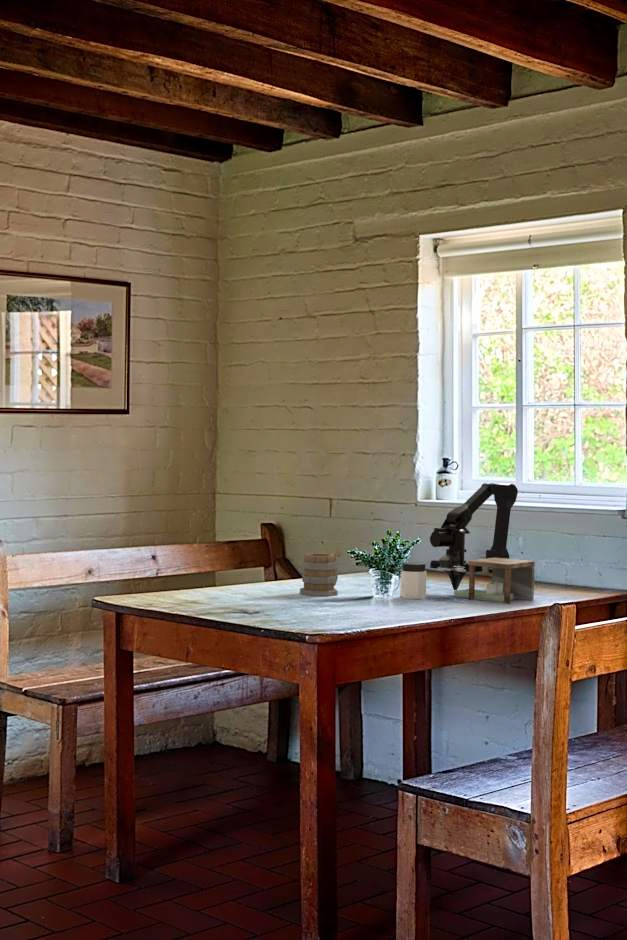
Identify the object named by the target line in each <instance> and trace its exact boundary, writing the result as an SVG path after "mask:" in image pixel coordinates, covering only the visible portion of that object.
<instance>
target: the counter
mask: <svg viewBox="0 0 627 940" xmlns="http://www.w3.org/2000/svg"><path fill="white" fill-rule="evenodd" d="M535 564H536V561H535V560H526V559H515V558H509V559H506V558H487V559H485V558H479V559H471V560H468V565H469V572H468V573H469V576H468V578H469V579H468V589H469V598H468V600H469V601H474V600H475V599H474V595H475V589H476V587H475V586H476V572H475V566H482V568H484V567H486V568H488V567H492V575H491V583H494V582H503V592H504V601H503V604H504V605H511V600H510V593H513V599H520V600H529V601H533V600H534V598H535V597H534V596H535V595H534V594H535V566H536V565H535Z"/></svg>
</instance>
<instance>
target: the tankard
mask: <svg viewBox="0 0 627 940" xmlns="http://www.w3.org/2000/svg"><path fill="white" fill-rule="evenodd" d="M342 555H343V552H342V551H340V550H339V549H335V550H334V551H333V552H331V553H320V552H318V553H317V552H315V553H313V552H311V553H305V554H304V560H302V568H303V574H302V575H301V576H302V577H301V581H302V583H303V587H301V588H299V594H301V595H302V596H306V597H318V598H319V597H320V598H321V597H325V598H326V597H335V596H338V591H339V590H337V589H336V588H335V586H336V585H337V581H338V578H339V577H338V575H339V573H338V567H337V557H339V558H340V557H342Z"/></svg>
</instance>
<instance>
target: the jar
mask: <svg viewBox="0 0 627 940" xmlns="http://www.w3.org/2000/svg"><path fill="white" fill-rule="evenodd" d="M401 570H402V572H401V571H400V587H399V589H400V598H402V599H408V600H422V599H426V597H427V571H426V563H424V562H418V561H417V562H415V561H406V562H405V563H404V562H402V565H401Z"/></svg>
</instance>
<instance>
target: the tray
mask: <svg viewBox="0 0 627 940" xmlns="http://www.w3.org/2000/svg"><path fill="white" fill-rule="evenodd" d="M453 596H454V597H457V598H464V599H469V588H463V589H457V590H454V592H453ZM474 600H481V601H482V600H483V601H490V602H499V603H500V602H502V601H503V602H504V592H503V582H494V583H492V582H486V589H477V588H475V595H474ZM511 600H514V598H513V593H510V601H511Z"/></svg>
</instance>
